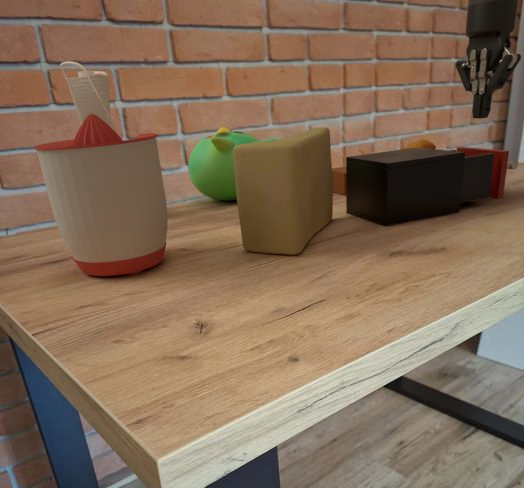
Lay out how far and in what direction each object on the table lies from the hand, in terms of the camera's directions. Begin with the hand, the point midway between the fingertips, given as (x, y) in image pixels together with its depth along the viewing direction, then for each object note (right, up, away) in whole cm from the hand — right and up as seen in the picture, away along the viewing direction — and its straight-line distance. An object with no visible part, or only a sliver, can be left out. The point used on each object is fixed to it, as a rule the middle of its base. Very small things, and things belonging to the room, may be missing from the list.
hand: (480, 117), depth 90 cm
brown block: (-21, -6, +21) cm, 30 cm away
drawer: (-3, -13, +2) cm, 14 cm away
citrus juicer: (-59, -29, -16) cm, 67 cm away
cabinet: (-14, -17, -1) cm, 22 cm away
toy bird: (-45, -8, +23) cm, 51 cm away
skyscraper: (-68, -16, +12) cm, 70 cm away
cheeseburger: (-4, -4, +23) cm, 24 cm away
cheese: (-32, -23, -9) cm, 41 cm away
